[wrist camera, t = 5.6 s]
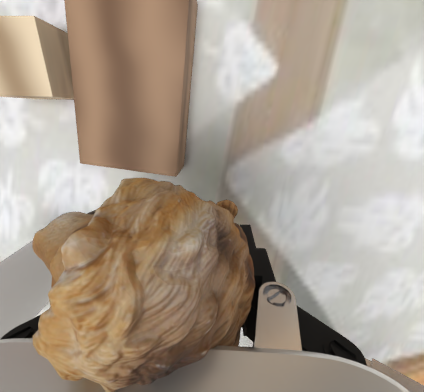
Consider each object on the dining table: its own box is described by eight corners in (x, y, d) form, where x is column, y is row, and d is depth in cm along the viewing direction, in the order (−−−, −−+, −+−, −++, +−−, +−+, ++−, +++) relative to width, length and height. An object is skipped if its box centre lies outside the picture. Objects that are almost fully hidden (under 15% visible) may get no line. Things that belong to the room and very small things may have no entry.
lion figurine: (127, 152, 11) (-169, 286, 3) (229, 133, 10) (263, 224, 2) (190, 343, 16) (158, 588, 8) (260, 336, 16) (305, 593, 7)
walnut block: (197, 6, 21) (190, -24, 16) (184, 165, 27) (176, 176, 22) (96, -9, 21) (60, -43, 16) (105, 154, 27) (80, 163, 22)
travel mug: (81, 208, 29) (-165, 376, 11) (108, 246, 31) (-59, 442, 13) (46, 224, 30) (-231, 400, 12) (74, 259, 33) (-124, 456, 14)
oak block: (73, 36, 22) (34, 16, 18) (85, 99, 24) (52, 96, 20) (17, 36, 22) (-36, 15, 18) (34, 98, 25) (-10, 95, 20)
